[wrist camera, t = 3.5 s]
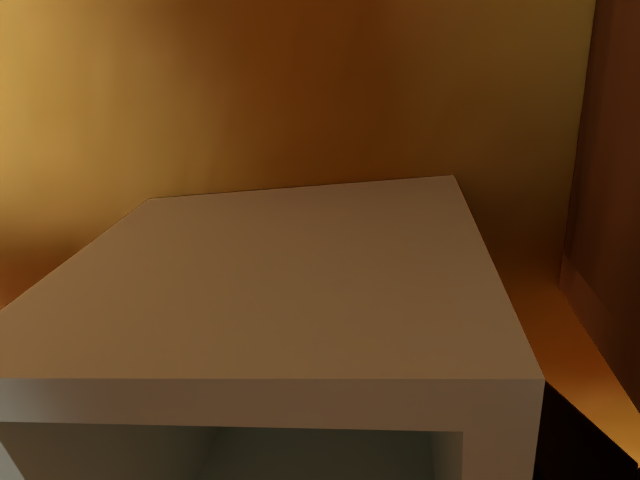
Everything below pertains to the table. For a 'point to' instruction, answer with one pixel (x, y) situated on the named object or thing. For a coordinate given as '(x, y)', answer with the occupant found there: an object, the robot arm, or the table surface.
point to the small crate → (274, 345)
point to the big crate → (609, 196)
